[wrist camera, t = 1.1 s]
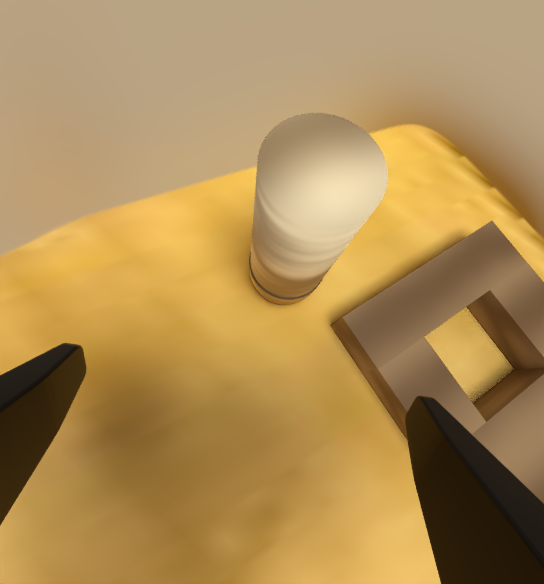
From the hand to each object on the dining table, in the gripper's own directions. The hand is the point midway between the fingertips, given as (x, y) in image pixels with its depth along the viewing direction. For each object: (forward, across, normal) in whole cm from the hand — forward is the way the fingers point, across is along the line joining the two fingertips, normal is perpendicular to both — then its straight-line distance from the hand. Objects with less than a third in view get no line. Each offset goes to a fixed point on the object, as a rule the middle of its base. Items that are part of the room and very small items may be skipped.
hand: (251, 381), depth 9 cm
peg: (+16, -2, +5) cm, 16 cm away
